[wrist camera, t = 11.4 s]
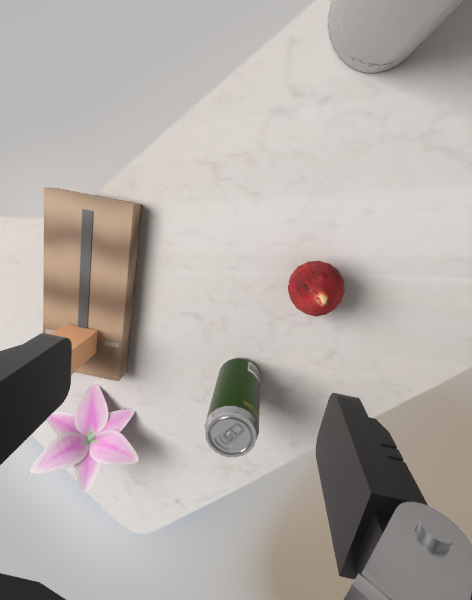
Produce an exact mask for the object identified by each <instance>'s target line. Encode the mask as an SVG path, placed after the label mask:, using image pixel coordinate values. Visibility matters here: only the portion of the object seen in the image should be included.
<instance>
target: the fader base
mask: <svg viewBox="0 0 472 600" xmlns="http://www.w3.org/2000/svg"><path fill="white" fill-rule="evenodd" d="M141 206H142V204H138V203H133V202H127V201H122V200H117V199H111V198H106V197H101V196H95V195H90V194H85V193H79V192H74V191H69V190H64V189H58V188H44V321H43V333H46V334H50V333H52V332H54V331H55V330H57V329H59V328H60V327H62V326H63V325H65V324H67V325H72V326H77V327H82V328H87V329H92V330H97V331H98V332H97V349H96V353H95V354H94V355H93V356H92V357H91V358H90V359H89V360H88V361H86V362H85V363H84V364H83V365H82V366H81V367H80V368H79V369H77V370H76V371H75V372H77V373H81V374H86V375H91V376H96V377H101V378H106V379H110V380H115V381H119V380H120V379H121V378H122V377H123V375H124V374H125V373H126V372H127V362H128V351H129V340H130V328H131V317H132V306H133V295H134V284H135V273H136V262H137V250H138V239H139V228H140V217H141Z"/></svg>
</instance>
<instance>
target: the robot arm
mask: <svg viewBox="0 0 472 600" xmlns="http://www.w3.org/2000/svg"><path fill="white" fill-rule="evenodd" d="M463 1H464V0H332V2H331V7H330V11H329V22H328V28H329V35H330V39H331V42H332V45H333V48H334V50H335V51H336V53H337V55H338V56H339V58H340V59H341V60H342V61H343V62H344V63H345V64H346V65H348V66H350V67H351V68H353V69H355V70H358V71H361V72H366V73H376V72H382V71H386V70H388V69H390V68H393V67H395V66H396V65H398V64H399V63H401V62H402V61H404V60H405V59H406V58H407V57H408V56H409V55H410V54H411V53H412V52H413V51H414V50H415V49H416V48H417V47H418V46H419V45H420V44H421V43H422V42H423V41H424V40H425V39H426V38H427V37H428V36H429V35H430V34H431V33H432V32H433V31H434V30H435V29H436V28H437V27H438V26H439V25H440V24H441V23H442V22H443V21H444V20H445V19H446V18H447V17H448V16H449V15H450V14H451V13H452V12H453V11H454V10H455V9H456V8H457V7H458V6H459V5H460V4H461V3H462V2H463ZM71 357H72V343H71V340H70V339H69V338H65V337H61V336H56V335H51V334H46V333H42V334H40V335H38V336H36V337H35V338H33V339H31V340H29V341H28V342H26V343H24V344H23V345H19V346H16V347H13V348H9V349H6V350H3V351H0V465H1V464H2V463H3V462H4V461H5V460H6V459H7V458H8V457H9V456H10V455H11V454H12V453H13V452H14V451H15V450H16V449H17V448H18V447H19V446H20V445H21V444H22V443H23V442H24V441H25V440H26V439H27V438H28V437H29V436H30V435H31V434H32V433H33V432H34V431H35V430H36V429H37V428H38V427H39V426H40V425H41V424H42V423H43V422H44V421H45V420H46V419H47V418H48V417H49V416H50V415H51V414H52V413H53V412H54V411H55V410H56V409H57V408H58V407H59V406H60V405H61V404H62V403H63V402H64V400H65V399H66V397H67V395H68V392H69V389H70V384H71ZM316 459H317V464H318V469H319V475H320V479H321V485H322V490H323V495H324V500H325V505H326V511H327V516H328V521H329V526H330V531H331V536H332V541H333V546H334V552H335V557H336V561H337V567H338V572H339V575H340V576H342V577H346V578H351V579H355V581H354V582H353V584H352V586H351V588H350V589H349V591H348V593H347V595H346V597H345V599H344V600H472V544H471V542H470V540H469V539H468V538H467V537H466V535H465V534H464V533H463V531H462V530H460V528H459V527H458V526H457V525H456V524H455V523H454V522H452V521H451V520H450V519H449V518H448V517H446V516H445V515H443V514H442V513H440V512H439V511H437V510H435V509H433V508H431V507H429V506H428V505H427V503H426V501H425V499H424V497H423V495H422V493H421V491H420V490H419V488H418V486H417V484H416V482H415V480H414V478H413V476H412V474H411V473H410V471H409V469H408V467H407V465H406V463H405V462H403V458H402V456H401V454H400V452H399V450H397V447H396V444H395V442H394V441H393V439H392V437H391V435H390V433H389V432H388V431H387V430H386V429H385V428H384V427H383V426H382V425H381V424H380V423H379V422H378V421H377V420H376V419H373V418H369V417H368V415H367V413H366V411H365V409H364V407H363V405H362V402H361V400H360V399H359V398H356V397H351V396H346V395H342V394H337V393H332V394H331V396H330V398H329V400H328V404H327V407H326V410H325V414H324V417H323V420H322V423H321V427H320V430H319V433H318V437H317V443H316ZM0 600H65V599H64V598H62V597H61V596H59V595H58V594H56V593H55V592H53V591H52V590H50V589H49V588H47V587H46V586H44V585H43V584H41V583H39V582H35V581H31V580H27V579H23V578H18V577H14V576H9V575H5V574H1V573H0Z"/></svg>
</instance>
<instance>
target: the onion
mask: <svg viewBox="0 0 472 600" xmlns="http://www.w3.org/2000/svg"><path fill="white" fill-rule="evenodd" d="M288 291H289V295H290V299H291V301H292V302H293V304H294V305H295V306H296V308H297V309H299V310H300V311H302V312H304V313H305V314H309V315H313V316H320V315H325V314H327V313H329V312H331V311H332V310H334V309H335V308H336V307H337V306H338V304H339V303H340V302H341V300H342V297H343V294H344V291H345V290H344V280H343V278H342V277H341V275H340V273H339V272H338V270H337V269H336V268H334V267H333V266H332V265H330V264H328V263H324V262H321V261H312V262H307V263H305V264H303V265H301V266H298V267H297V269H296V270H295V271H294V272H293V274H292V275H291V277H290V281H289V285H288Z"/></svg>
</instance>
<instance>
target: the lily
mask: <svg viewBox="0 0 472 600" xmlns="http://www.w3.org/2000/svg"><path fill="white" fill-rule="evenodd" d="M134 413H135V410H133V409H124V410H118V411H113V412H109V413H108V407H107V404H106V401H105V398H104V396H103V393H102V391H101V389H100V387H99V385H98V384H96V383H92V384H91V385H90V386H89V388H88V389H87V391H86V392H85V394H84V396H83V398H82V399H81V401H80V403H79V405H78V407H77V410H76V413H75V414H72V413H65V412H53V413H52V414H51V415H50V416H49V417H48V418H47V421H48V423H49V424H50V426H51V427H52V428H53V430H54V431H55V432H56V433H57V435H58V437H57V438H56V439H55V440H54V441H53V442H52V443H51V444H50V445H49V446H48V447H47V448H46V449H45V450H44V451H43V453H42V454H41V455H40V456H39V457H38V459H37V460H36V461H35V462H34V464H33V466H32V467H31V470H30V472H31V473H33V474H35V473H44V472H50V471H54V470H59V469H64V468H68V467H71V466H74V468H75V473H76V476H77V479H78V482H79V485H80V487H81V489H82V491H83V492H84V493H87V492H88V490H89V489H90V487H91V485H92V483H93V481H94V479H95V477H96V475H97V472H98V470H99V467H100V465H101V463H105V464H136V463H137V462H139V457H138V455H137V453H136V452H135V450H134V449H133V447H132V446H131V444H130V443H129V442H128V440H127V439H126V438H125V437H124V436H123V435H122V434H121V433H120V431H121V430H122V429H123V428H124V427H125V425H126V424H127V423H128V422H129V420H130V419H131V417H132V416H133V414H134Z"/></svg>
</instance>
